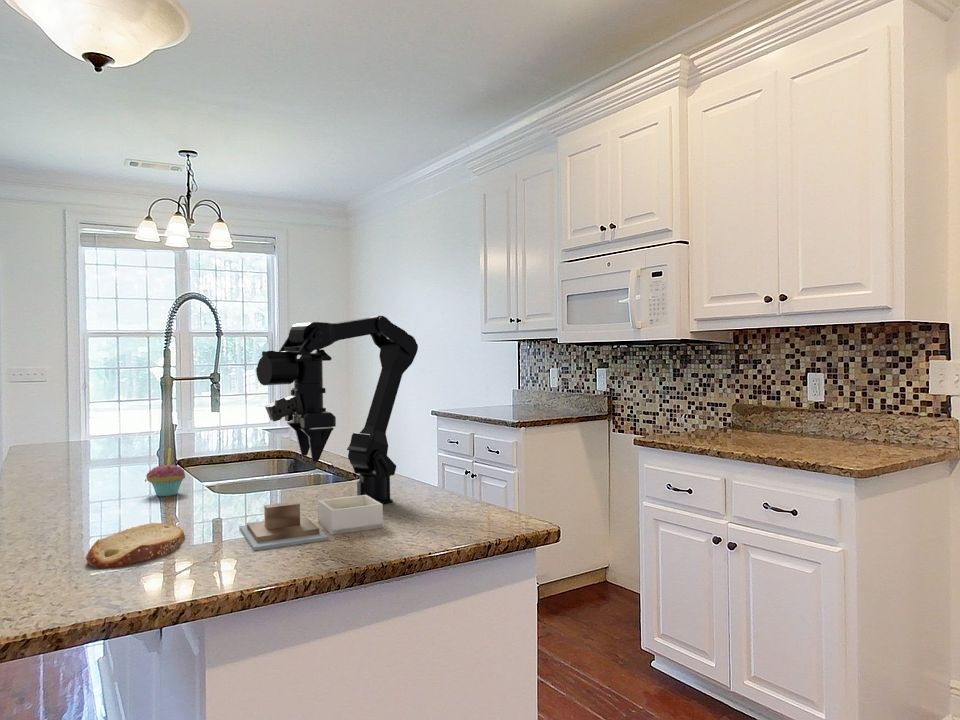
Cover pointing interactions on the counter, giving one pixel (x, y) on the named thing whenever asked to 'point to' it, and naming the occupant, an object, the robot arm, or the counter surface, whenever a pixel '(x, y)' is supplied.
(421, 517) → the counter surface
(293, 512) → the lid
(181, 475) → the cupcake
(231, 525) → the counter surface
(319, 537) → the mat
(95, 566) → the slice of bread
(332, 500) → the dish
